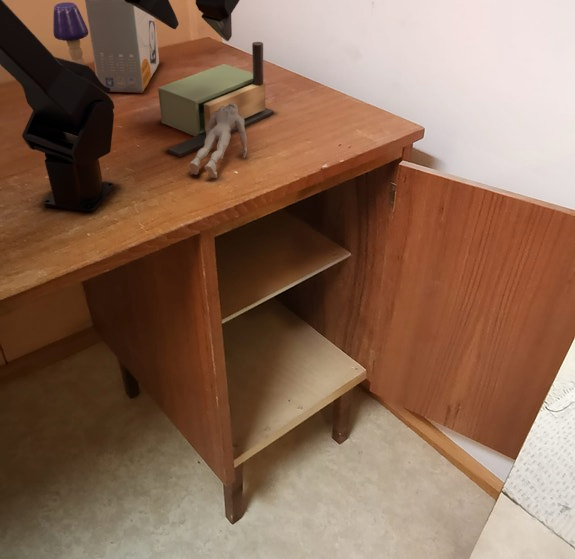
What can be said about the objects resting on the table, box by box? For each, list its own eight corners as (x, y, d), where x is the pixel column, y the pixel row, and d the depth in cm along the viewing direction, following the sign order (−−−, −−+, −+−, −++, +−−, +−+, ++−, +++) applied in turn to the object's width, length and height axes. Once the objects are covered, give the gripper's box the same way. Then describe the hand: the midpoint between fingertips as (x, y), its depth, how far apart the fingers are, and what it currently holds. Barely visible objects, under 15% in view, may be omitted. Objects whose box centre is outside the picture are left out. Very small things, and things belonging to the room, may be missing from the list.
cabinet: (180, 157, 84) (176, 119, 80) (130, 135, 89) (125, 99, 86) (273, 113, 96) (274, 79, 93) (225, 96, 101) (224, 63, 98)
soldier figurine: (229, 193, 81) (259, 130, 87) (222, 166, 76) (254, 101, 82) (186, 185, 83) (218, 123, 88) (176, 157, 78) (211, 94, 84)
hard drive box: (144, 94, 101) (127, -39, 89) (98, 93, 101) (75, -40, 89) (160, 63, 113) (148, -58, 101) (119, 61, 113) (102, -59, 101)
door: (212, 134, 88) (208, 63, 82) (204, 131, 89) (199, 60, 82) (266, 109, 95) (266, 43, 89) (258, 107, 96) (258, 40, 90)
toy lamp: (95, 129, 90) (73, 10, 80) (66, 126, 91) (40, 7, 81) (109, 116, 94) (90, 1, 84) (81, 113, 95) (58, -2, 84)
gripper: (248, -111, 68) (286, -2, 82) (125, -123, 76) (178, -21, 90) (199, -38, 66) (247, 63, 79) (77, -58, 73) (139, 37, 87)
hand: (202, 32), depth 84 cm, fingers open, 9 cm apart
